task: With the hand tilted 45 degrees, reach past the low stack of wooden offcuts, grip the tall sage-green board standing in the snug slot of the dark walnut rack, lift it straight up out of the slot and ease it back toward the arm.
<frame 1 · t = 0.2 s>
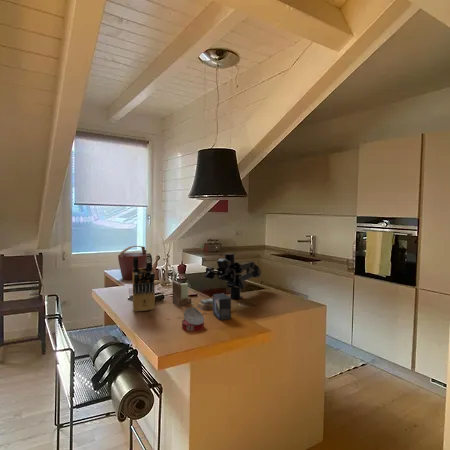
hand: (212, 277, 179), 17 cm above the countertop, tool horizontal, fingers open, 9 cm apart
walnut rack: (183, 305, 185), on the countertop
knife block: (143, 307, 180), on the countertop
small box: (221, 317, 165), on the countertop
green board: (183, 303, 185), point 1 cm above the countertop, touching walnut rack
bucket: (134, 278, 257), on the countertop
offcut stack: (206, 309, 178), on the countertop
canned food: (193, 328, 150), on the countertop
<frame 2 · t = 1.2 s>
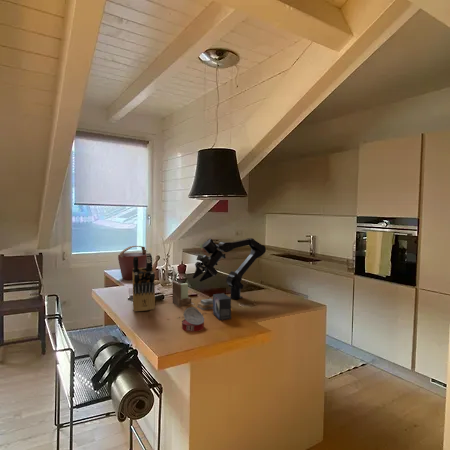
hand: (196, 279, 188), 14 cm above the countertop, tool tilted 45°, fingers open, 9 cm apart
nothing on the countertop moved.
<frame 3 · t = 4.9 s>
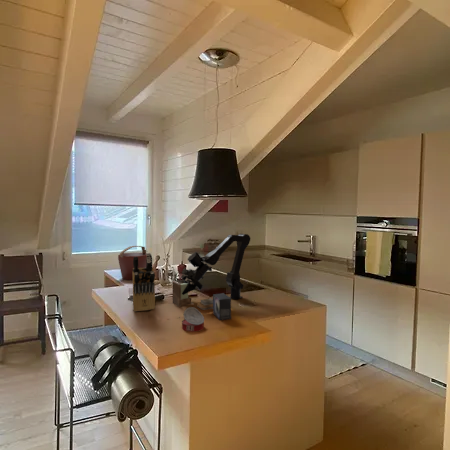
hand: (181, 293, 184), 7 cm above the countertop, tool tilted 45°, fingers closed on green board, 2 cm apart
green board: (183, 303, 185), point 1 cm above the countertop, touching gripper, walnut rack
everything else where it was.
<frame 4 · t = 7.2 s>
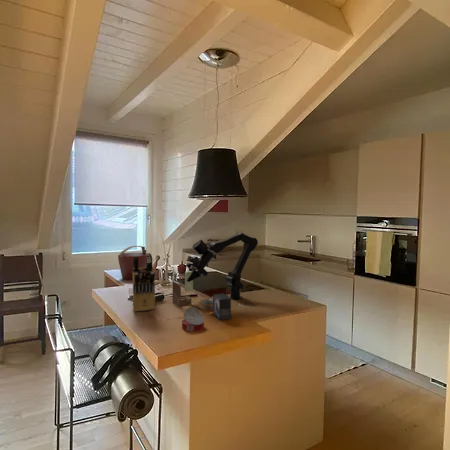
hand: (186, 281, 185), 13 cm above the countertop, tool tilted 45°, fingers closed on green board
green board: (188, 291, 186), point 8 cm above the countertop, touching gripper
everything else where it was.
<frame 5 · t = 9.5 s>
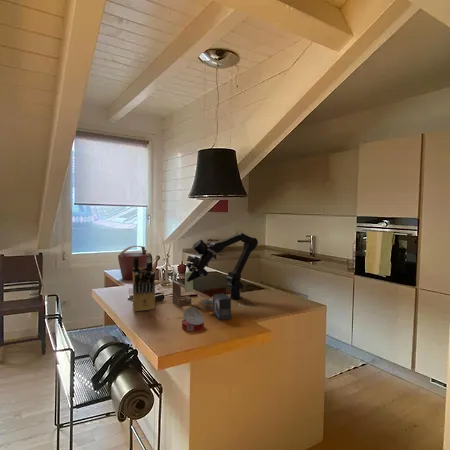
hand: (186, 280, 185), 13 cm above the countertop, tool tilted 45°, fingers closed on green board
green board: (188, 291, 186), point 7 cm above the countertop, touching gripper
everything else where it was.
at the end: the gripper is holding green board; green board point 7.4 cm above the countertop; green board touching gripper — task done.
